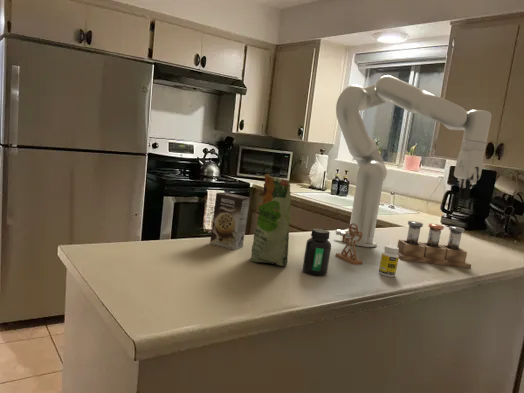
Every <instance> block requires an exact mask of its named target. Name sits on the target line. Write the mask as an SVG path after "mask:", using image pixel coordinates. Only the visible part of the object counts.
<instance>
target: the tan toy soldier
mask: <svg viewBox="0 0 524 393" xmlns="http://www.w3.org/2000/svg"><path fill="white" fill-rule="evenodd" d="M353 224H354V225H355V226H356V228H354V227H351V226H352V225H353ZM348 228H349V232H350V233H349V234H350V237H352V238H346V237H345V235H346V234H348V233H345V234H344V235H343V236H342V239H341V240H342V242H343V243H346V245H345V247H344V248H343V249H342V251H341V252H337V253H335V255H334V256H335V257H336V258H338V259H339V260H340V259H341V261H344V262H347V264H348V263H349V264H350V265H353V266H357V265H362V264H363V261H362V260H361V259H358V257H357V253H356V248H355V246H356V245H355V241H356V240H354V241H353V242H352V240H353V238H355V236H359V237H360V238H359V239H358V240H357V241H360V240H361V238H362V232H358V226H357V225H356V224H355V223H352V224H350V223H349V227H348ZM351 229H353V230H356V231H354V232H353V231H352V230H351ZM359 233H360V234H359ZM344 239H345V240H346V241H345V240H344ZM350 239H351V241H350V243H351V244H350V243H349V240H350ZM352 243H353V244H352ZM348 246H349V248H348ZM351 247H352V248H351ZM347 248H348V250H347ZM346 250H347V251H346ZM352 250H353V251H352Z"/></svg>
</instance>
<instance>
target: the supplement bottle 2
mask: <svg viewBox="0 0 524 393" xmlns="http://www.w3.org/2000/svg"><path fill="white" fill-rule="evenodd" d="M383 250H384V251H383V252H382V253H381V260H380V264H379V269H378V273H379V274H380V275H383V276H385V277H389V278H393V277H395V276H396V273H397V267H398V263H399V255H398V254H397V253H398V252H399V248H398V247H397V246H394V245H389V244H387V245H385V246H384V249H383Z"/></svg>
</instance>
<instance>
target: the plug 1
mask: <svg viewBox="0 0 524 393" xmlns="http://www.w3.org/2000/svg"><path fill="white" fill-rule="evenodd" d="M407 225H408V231H407V235H406V236H407V237H406V240H407V241H406V243H407V244H412V245H417V244H418V242H419V237H420V233H421V228H423V226H424V223H422V222H419V221H416V220H408V222H407Z"/></svg>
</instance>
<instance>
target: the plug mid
mask: <svg viewBox="0 0 524 393" xmlns="http://www.w3.org/2000/svg"><path fill="white" fill-rule="evenodd" d="M428 228H429V229H428V230H429V232H428V236H427V241H426V243H427V246H429V247H436V248H438V245H440V238H441V234H442V230H444V228H445V226H444V225H441V224H436V223H428Z"/></svg>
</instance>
